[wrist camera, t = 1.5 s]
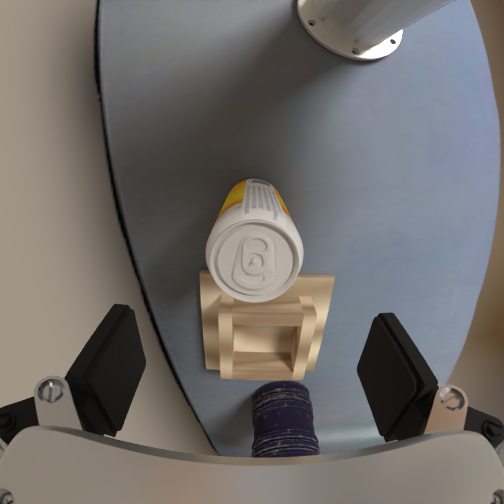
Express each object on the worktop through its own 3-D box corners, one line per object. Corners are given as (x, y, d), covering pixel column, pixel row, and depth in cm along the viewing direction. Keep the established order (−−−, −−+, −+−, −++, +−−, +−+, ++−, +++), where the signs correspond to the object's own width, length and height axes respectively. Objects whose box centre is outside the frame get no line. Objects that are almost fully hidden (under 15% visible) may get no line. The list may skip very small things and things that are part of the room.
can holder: (200, 269, 33) (192, 290, 28) (332, 274, 33) (343, 295, 29) (207, 364, 39) (202, 388, 35) (312, 366, 39) (317, 390, 35)
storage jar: (240, 393, 42) (237, 471, 28) (292, 371, 40) (303, 454, 26) (271, 418, 45) (274, 487, 31) (319, 400, 43) (333, 471, 29)
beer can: (224, 229, 31) (202, 303, 17) (228, 175, 29) (204, 209, 15) (278, 234, 31) (297, 311, 17) (284, 180, 29) (314, 219, 15)
